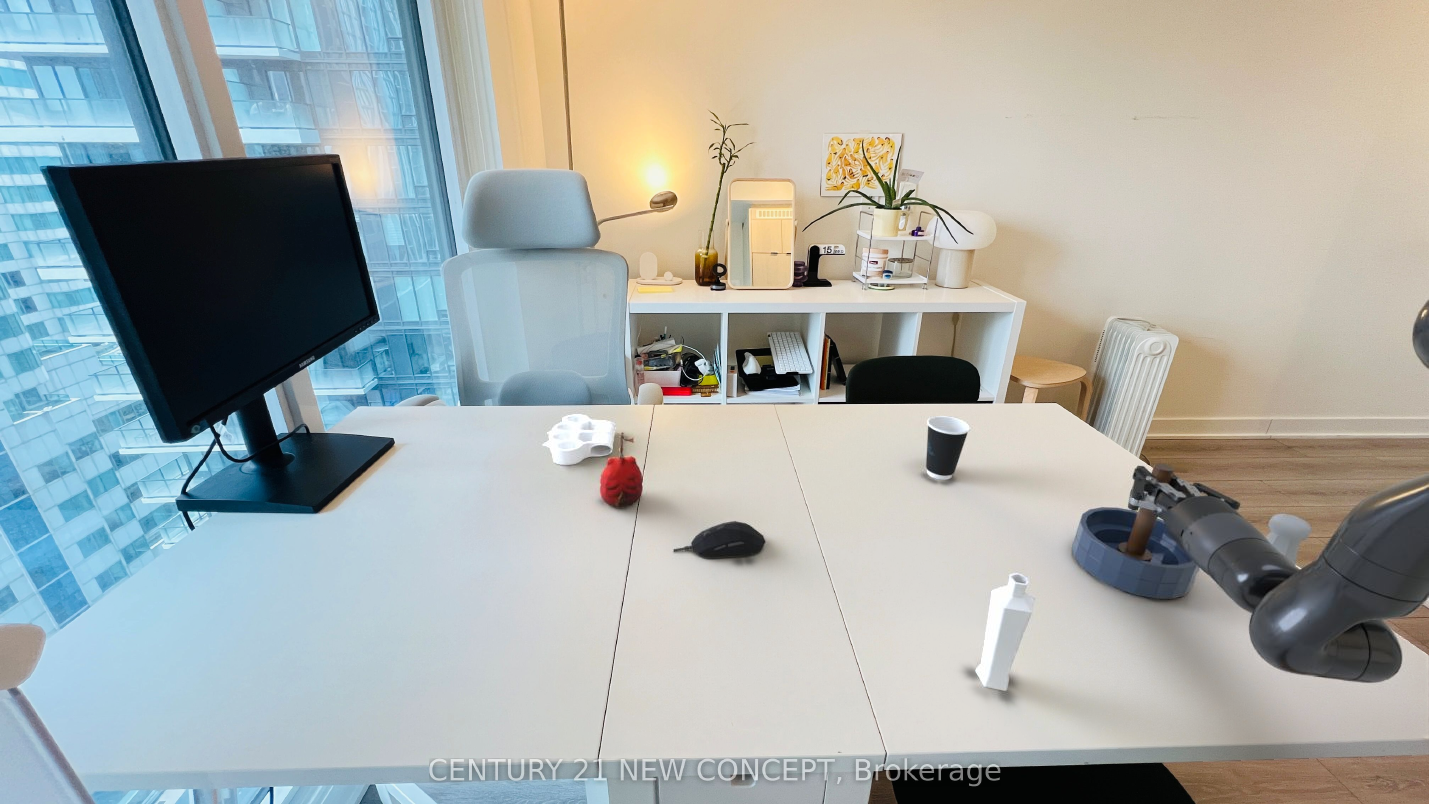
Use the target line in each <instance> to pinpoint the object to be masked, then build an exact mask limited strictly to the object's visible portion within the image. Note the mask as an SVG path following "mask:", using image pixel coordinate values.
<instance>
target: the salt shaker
mask: <svg viewBox="0 0 1429 804" xmlns="http://www.w3.org/2000/svg"><path fill="white" fill-rule="evenodd" d="M1267 527H1268V529H1269V530H1270V532H1269V533H1268V534H1267V536H1265V538H1266V539H1267V540H1268V541H1269V542H1270V544H1271V545H1272V546H1274V547H1275V548H1276V549H1277V550H1278V551H1279V552H1280V553H1282V554H1283V555H1284V556H1285V557H1286V558H1287V559H1289V560H1290V561H1291V562H1292V563H1293V564H1294V565H1295V566H1296V564H1297V558H1298V553H1299V548H1300V542H1303V541H1304V542H1305V541H1307V540H1308V539H1309V537H1310V535H1311V532H1312V529H1313V527H1311V525H1310V524H1309V522H1308V521H1306V520H1304V519H1303V518H1301V517H1298V516H1296V515H1292V514H1288V513H1277V514H1274V515H1273V516H1272V517H1271V518H1270V519H1269V521H1268V524H1267Z"/></svg>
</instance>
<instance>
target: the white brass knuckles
mask: <svg viewBox="0 0 1429 804" xmlns="http://www.w3.org/2000/svg"><path fill="white" fill-rule="evenodd" d="M561 420H562V421H560V422H559V423H557V424H555V425H554V426H553V427H552V428H551V430H550V431H547V434H548V439H549V440H547V442H544V443H543V444H542V446H543V447H546V448H549V449H550V453H551V454H552V461H553V463H555V464H557V465H559V466H573V465H576V464H577V465H578V464H579V463H581V462H582V461H583V460H584V459H587V458H596V457H597V458H598V457H604V456H607V455H610V454H611V453H613V446H614V441H615V436H616V430H617V424H616V423H615V422H613V421H610V420H604V419H591V418H590V417H589V416H587V415H585V414H581V413H579V414H578V413H575V414H569V415H566V416H563V417H562V419H561Z"/></svg>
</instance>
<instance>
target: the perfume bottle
mask: <svg viewBox="0 0 1429 804" xmlns="http://www.w3.org/2000/svg"><path fill="white" fill-rule="evenodd" d="M1008 578H1009V579H1008V583H1007V585H1003V586H1000V587H997V588H994V589H992V590H991V592H990V601H989V607H988V614H987V621H986V628H985V635H984V641H983V648H982V653H981V654H982V655H981V661H980V663H979V665H978V666H977V667H976V669H975V673H976V675H977V677H978V678H979V680H980V682H981V683H982V685H983V686H984V687H985V688H988V689H993V690H994V689H995V690H998V691H1003V692H1006V691H1007V690H1008V687H1009V682H1010V671H1011V668H1012V666H1013V663H1014V660H1015V658H1016V655H1017V653H1018V651H1019V648H1020V645H1021V642H1022V640H1023V637H1024V635H1025V632H1026V629H1027V627H1028V624H1029V622H1030V619H1031V616H1032V614H1033V611H1034V604H1035V600H1036V598H1035V597H1034V596H1033V595H1031V594H1029V593H1027V592H1026V590H1027V588H1028V586H1029V584H1030V578H1029V577H1027V576H1025V575H1023V574H1021V573H1020V572H1013V573H1011V574H1008Z"/></svg>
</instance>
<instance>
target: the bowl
mask: <svg viewBox="0 0 1429 804" xmlns="http://www.w3.org/2000/svg"><path fill="white" fill-rule="evenodd" d="M1137 514H1138V510H1137V511H1134V510H1131V509H1129V508H1122V507H1110V506H1109V507H1108V506H1101V507H1100V506H1099V507H1095V508H1090V509H1088V510H1086V511H1084V512H1083V513H1082V514H1081V517H1080V520H1079V522H1078V526H1077V530H1076V532H1075V536H1074V540H1073V543H1072V545H1071V551H1072V554H1073V557H1074V559H1075V560H1076V561H1077V562H1078V563H1079V564H1080V566H1081V567H1082V568H1083V569H1084V570H1085V571H1087V572H1088V573H1089V574H1091V575H1092V576H1094V577H1095V578H1096V579H1098V580H1100V581H1102V582H1104V583H1106V584H1108V585H1110V586H1111V587H1113V588H1116V589H1119V590H1120V591H1121V590H1122V591H1124V592H1126V593H1130V594H1133V595H1137V596H1141V597H1147V598H1150V599H1169V600H1170V599H1176V598H1180V597H1183V596H1185V595H1186V594H1187V593H1189V592H1190V590H1191V589H1192V588H1193V585H1194V583H1195V580H1196V578H1197V575H1198V573H1199V571H1200V568H1199V567H1198V566H1197V565H1196V564H1195V562H1194V561H1193V560H1192V559H1191V558H1190V557H1189V556H1188V555H1187V554H1186V553H1185V552H1184V550H1183V549H1182V548H1181V547H1180V546H1179V545H1178V544H1177V543H1176V542H1175V541H1174V540H1173V538H1172V537H1171V536H1170V535H1169V533H1168V531H1167V529H1166V526H1165V523H1164V521H1163V520H1162V519H1161V518H1159V517H1158V518H1157V520H1156V523H1155V526H1154V529H1153V532H1152V534H1151V537H1150V540H1149V543H1148V546H1147V548H1146V549H1147V550H1149V551H1150V552H1151V554H1152V559H1151V562H1147V561H1143V560H1140V559H1137V558H1134V557H1131V556H1128V555H1125V554H1123V553H1121V552H1119V551H1117V547H1118V545H1119V544H1120V543H1123V542H1128V540H1129V537H1130V534H1131V531H1132V528H1133V525H1134V522H1135V520H1136V517H1137Z"/></svg>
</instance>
